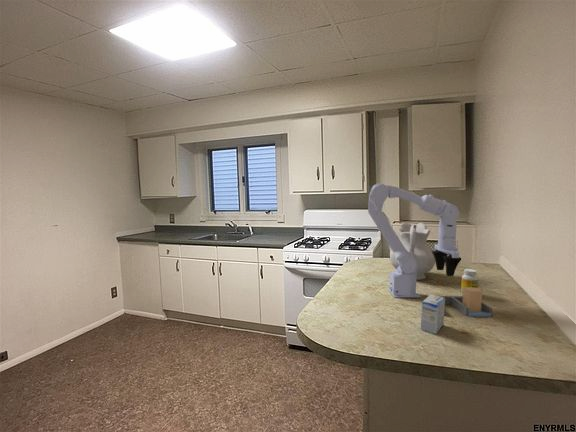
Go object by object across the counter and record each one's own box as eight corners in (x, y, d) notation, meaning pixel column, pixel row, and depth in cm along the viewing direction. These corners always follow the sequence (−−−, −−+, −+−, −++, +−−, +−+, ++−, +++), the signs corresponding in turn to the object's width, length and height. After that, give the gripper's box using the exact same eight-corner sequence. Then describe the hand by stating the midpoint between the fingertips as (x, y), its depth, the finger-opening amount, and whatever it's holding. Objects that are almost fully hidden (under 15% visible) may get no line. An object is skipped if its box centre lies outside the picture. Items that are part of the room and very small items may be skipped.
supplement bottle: (465, 291, 126) (466, 267, 125) (479, 295, 122) (481, 270, 121) (457, 294, 123) (459, 269, 122) (472, 298, 119) (474, 273, 118)
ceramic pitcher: (440, 288, 133) (448, 229, 131) (391, 281, 136) (399, 224, 133) (426, 273, 155) (433, 222, 152) (384, 268, 158) (390, 218, 155)
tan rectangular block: (468, 311, 106) (469, 291, 105) (462, 307, 110) (463, 287, 109) (480, 312, 105) (482, 291, 105) (473, 307, 109) (475, 287, 109)
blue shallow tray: (443, 316, 103) (443, 308, 102) (427, 302, 114) (428, 295, 114) (493, 316, 103) (494, 309, 102) (472, 302, 114) (473, 296, 114)
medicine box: (428, 321, 99) (429, 293, 98) (443, 325, 96) (445, 297, 96) (420, 330, 93) (421, 301, 92) (436, 334, 90) (438, 305, 89)
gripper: (469, 240, 110) (466, 278, 111) (448, 233, 124) (446, 267, 126) (448, 239, 110) (445, 278, 111) (430, 233, 124) (428, 267, 126)
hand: (444, 272), depth 119 cm, fingers open, 7 cm apart
